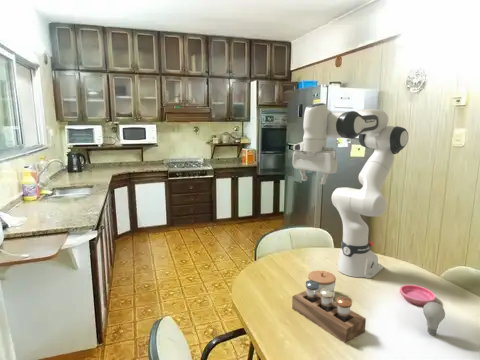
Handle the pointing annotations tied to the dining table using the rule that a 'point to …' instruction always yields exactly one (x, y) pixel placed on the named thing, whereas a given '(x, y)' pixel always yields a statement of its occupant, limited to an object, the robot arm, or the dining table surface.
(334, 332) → the socket board
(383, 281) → the dining table surface
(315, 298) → the grey-lidded spice jar
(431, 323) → the lightbulb
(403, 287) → the saucer
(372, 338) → the dining table surface
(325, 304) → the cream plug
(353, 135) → the robot arm
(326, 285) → the lidded jar
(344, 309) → the copper-lid spice jar
